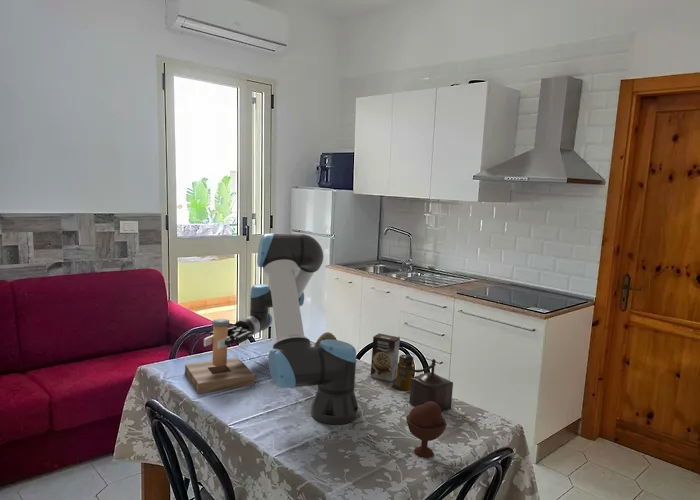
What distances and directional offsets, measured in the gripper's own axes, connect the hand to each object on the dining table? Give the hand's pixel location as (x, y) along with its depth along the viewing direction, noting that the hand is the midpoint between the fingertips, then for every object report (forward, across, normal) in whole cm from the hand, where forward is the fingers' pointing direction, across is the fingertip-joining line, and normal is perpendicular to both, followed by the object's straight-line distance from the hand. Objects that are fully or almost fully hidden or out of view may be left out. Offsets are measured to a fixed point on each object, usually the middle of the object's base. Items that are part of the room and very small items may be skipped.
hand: (211, 343), depth 171 cm
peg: (-5, 0, -9) cm, 10 cm away
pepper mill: (-15, -74, -15) cm, 77 cm away
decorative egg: (-33, -31, -15) cm, 47 cm away
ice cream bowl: (+14, -79, -15) cm, 82 cm away
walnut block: (-5, 0, -15) cm, 15 cm away
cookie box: (-35, -54, -15) cm, 66 cm away
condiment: (-28, -63, -15) cm, 71 cm away
